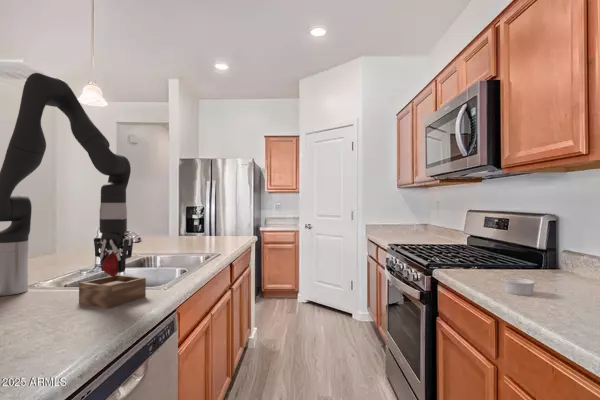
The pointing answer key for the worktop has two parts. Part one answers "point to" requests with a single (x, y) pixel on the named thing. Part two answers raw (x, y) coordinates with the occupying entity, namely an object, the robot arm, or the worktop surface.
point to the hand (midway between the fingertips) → (113, 271)
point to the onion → (110, 264)
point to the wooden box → (112, 291)
